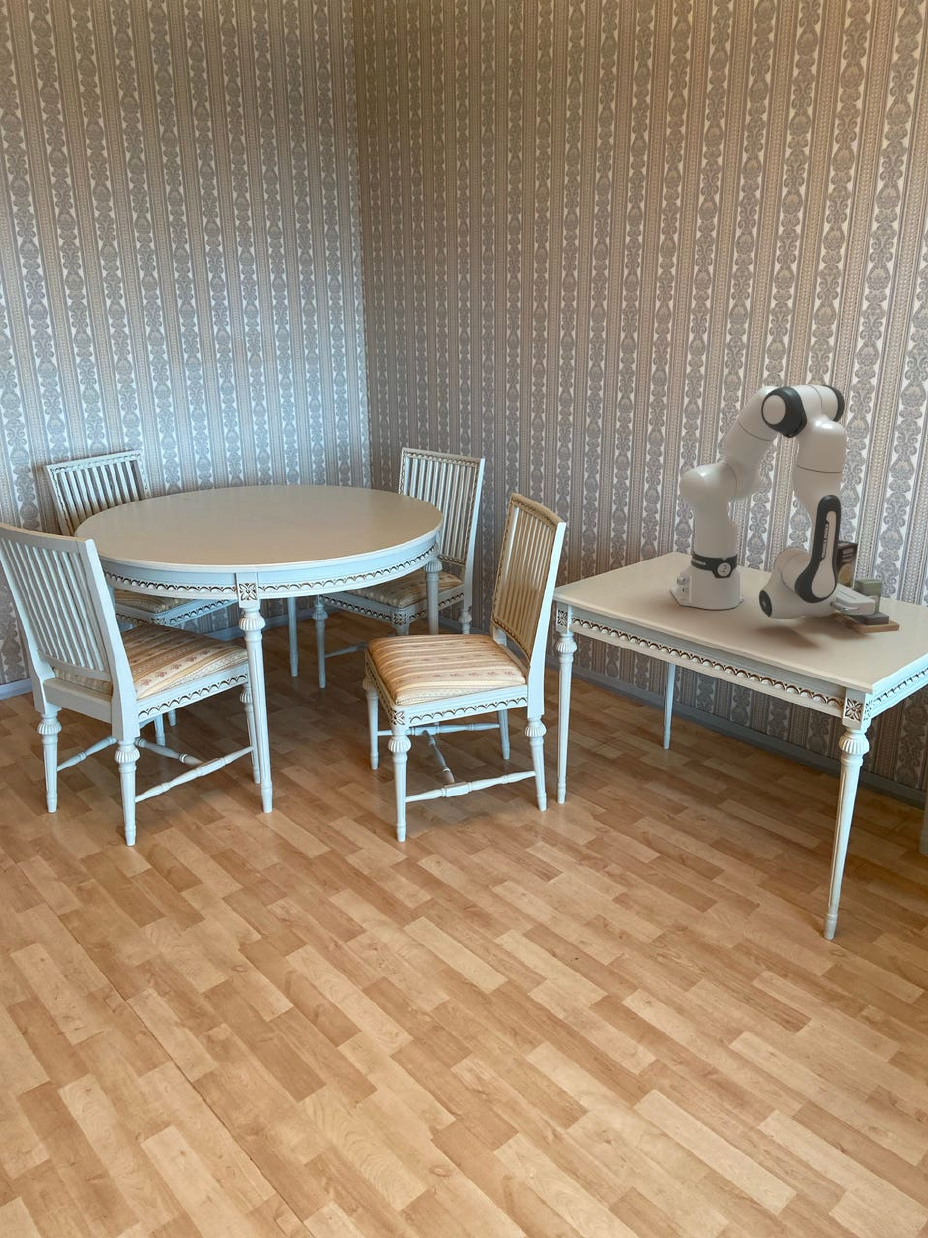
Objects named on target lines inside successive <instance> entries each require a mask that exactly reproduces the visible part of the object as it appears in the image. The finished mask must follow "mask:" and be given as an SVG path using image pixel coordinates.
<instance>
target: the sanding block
mask: <svg viewBox="0 0 928 1238" xmlns="http://www.w3.org/2000/svg"><path fill="white" fill-rule="evenodd" d="M853 588H854V589H853V590H854V591H856V592H858V593H860V594H862V595H864V596H867V597H868V596H869V595H876V596H878V602H877V603H875V611H874V613H873V614H871V615H848V616H850V617H852V618H854V619H855V620H857V621H859V622H861V623H863V624H865V625H867V626H869V625H881V624H888V623H889V619H890V616H889V615H888V614H885V613H884V612H882V611H880V604H881V598H882V597H881V596H882V589H883V581H880V580H878V579H876V578H874V577H863V578H861V577H860V578H855V579H853ZM846 615H847V614H846Z"/></svg>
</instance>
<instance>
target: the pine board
mask: <svg viewBox="0 0 928 1238" xmlns="http://www.w3.org/2000/svg"><path fill="white" fill-rule="evenodd" d="M828 618H831V619H833V620H835V621H836V622H838V623H840V624H842V625H844V626H846V627H848V628H850V629H851V630H853V631H855V632H856V633H857V634H870V633H880V632H889V631H888V630H893V631H897V630H896V629H899V630H900V626H901V625H900V623H898V622H895V621H893V620H891V619H890V618H889V623H888V624H881V625H869V626H867V625H865V624H863V623H861V622H859V621H857V620H855V619H854V618H852V617H850V616H848V615H846V614H844V613H842V612H840V611H838V610H834V612H833V613H832V614H831V615H829V616H828Z"/></svg>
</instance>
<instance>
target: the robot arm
mask: <svg viewBox="0 0 928 1238" xmlns="http://www.w3.org/2000/svg"><path fill="white" fill-rule="evenodd" d="M845 409H846V401H845V397H844V396H843V394H842V392H841V391H840V390H839V389H837V388H836V387H835V386H832V385H828V384H813V383H812V384H809V383H808V384H806V383H804V384H798V385H791V386H788V385H786V386H785V385H784V386H780V387H778V386H775V385H765V386H763V387H761V388H759V389H758V390H757V391H756V392H755V393H754V395H752V397H751V398H750V399H749V400H748V402H747V403H746V404H745V405H744V406H743V408H742V409H741V410H740V412H739V414H738V416H737V417H736V419H735V420H734V422H733V424H732V425H731V427H730V428H729V430H728V432H727V433H726V434H725V436H724V438H723V446H724V450H725V455H724V456H723V458H722V459H721V460H720V461H719V462H715V463H709V464H703V465H697V466H696V467H694V468H691V469H689V470H687V471H686V472H684V473H683V474H682V476H681V478H680V481H679V485H678V489H679V490H678V491H679V494H680V497H681V498H682V500H683V502H685V503H686V504H687V505H688V506H689V507H690V510H691V512H692V514H693V518H694V522H695V542H694V543H695V545H694V551H691V553H692V554H691V560H690V564H689V565H688V566H687V567H685V568H684V569H683V570H682V571H681V572H680V573H679V576H678V577H677V578H676V584H677V585H674V586H671V587H670V588H669V591H670V593H671V594H672V596H673V597H674V598H675V600H676V601H677V602H678V604H679V605H680V606H685V607H694V608H697V609H699V608H700V609H705V610H729V609H733V608H735V607H737V606H739V605H740V603H742V602H744V600H745V598H744V596H743V595H741V573H740V571H739V570H738V569H737V568H738V561H739V559H738V554H737V548H738V547H737V545H738V536H739V535H738V534H739V533H738V532H739V528H738V524H737V523H736V522H735V521H734V520H733V519H731V518H730V515H729V512H728V503H733V502H740V501H743V500H745V499H748V498H749V497H751V496H752V495H754V494H756V493H757V492H758V491H759V489H760V487H761V483H762V476H761V472H760V470H759V468H760V466H761V463H762V460H763V458H765V457H764V456H765V455H766V453H767V452H768V450H769V449H770V448H771V446H772V444H773V443H774V441H775V440H776V438H777V437H778V436H779V434H781V435H782V436H783V437H785V438H787V439H793V438H796V440H797V442H798V450H797V451H798V452H797V455H796V460H795V463H794V469H793V475H792V489H793V492H794V493H793V494H794V495H795V497H796V498H797V499H798V501H799V502H800V503H801V505H802V506H803V507H804V509H805V510H806V512H807V514H808V516H809V518H810V523H811V530H812V531H811V537H810V538H811V539H810V547H809V552H808V551H806V550H804V549H803V548H801V547H798V546H792V547H791V546H790V547H787V548H786V549H783V550H782V551H781V552H779V554H778V555H777V557H776V558H775V560H774V562H773V570H772V572H771V575H770V577H769V579H768V581H767V583H766V584H765V585H764V586H763V587H762V588H761V589H760V591H759V593H758V603H759V607H760V608H761V611H762V612H763V614H765V616H766V617H768V618H770V619H775V620H793V619H794V620H795V619H799V618H802V617H806V618H819V617H829V615H831V614H832V613H833V612H834V610H838V611H840V612H842V613H844V614H847V615H871V614H873V613H874V611H875V603H877V602H878V596H876V595H869V596H868V597H867V596H864V595H862V594H860V593H858V592H856V591H854V590H853V589H854V587H852V588H849V587H846V586H843V585H841V584H839V583H838V573H837V567H836V559H837V550H838V542H839V540H840V532H841V524H842V503H841V488H842V486H841V485H842V480H843V473H844V468H845V465H846V464H845V463H846V457H847V450H848V449H847V447H848V432H847V429H846V428H845V427H844V426H843V425H842V424H840V423H839V421H840V420H841V419H842V417H843V415H844V413H845Z"/></svg>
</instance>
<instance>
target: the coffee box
mask: <svg viewBox="0 0 928 1238" xmlns="http://www.w3.org/2000/svg"><path fill="white" fill-rule="evenodd" d="M858 546H859V543H857V542H851V541H845V540H842V539H841V540H840V539H839V542H838V550H837V559H836V567H837V573H838V583H839V584H841V585H843V586H846V587H849V588H854V580H855V579H854V578H855V569H856V562H857V561H856V560H857V555H858Z"/></svg>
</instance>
